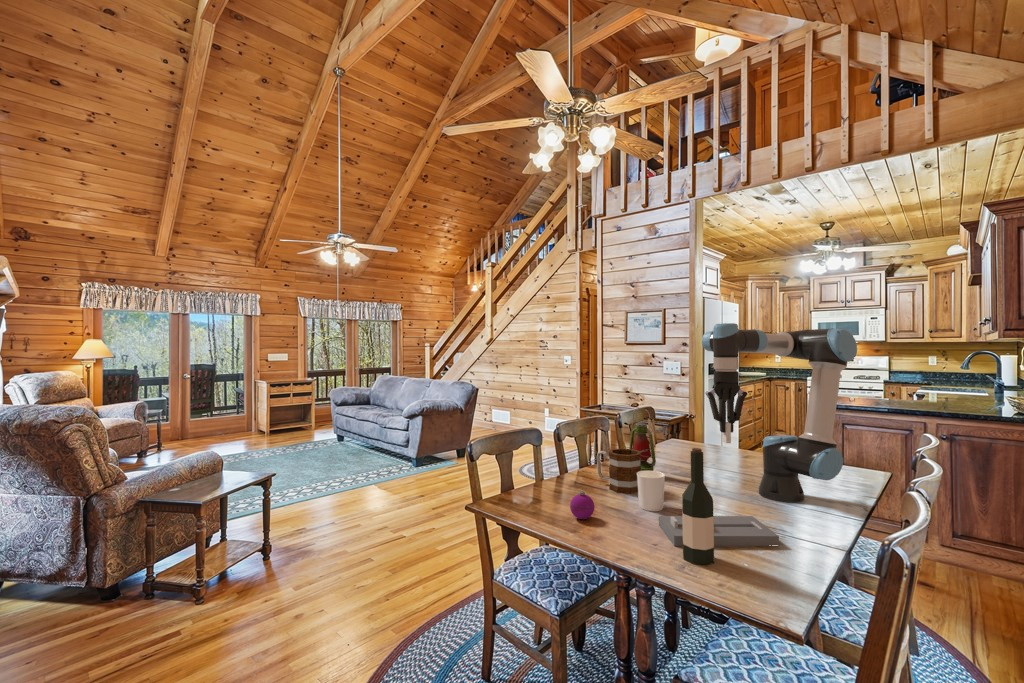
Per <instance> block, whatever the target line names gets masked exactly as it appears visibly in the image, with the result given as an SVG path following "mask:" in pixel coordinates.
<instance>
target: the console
mask: <svg viewBox="0 0 1024 683" xmlns="http://www.w3.org/2000/svg"><path fill="white" fill-rule="evenodd" d="M713 519H714V547H756V546H769V545H771V546H772V545H779V546H780V535H778V534H776V533H775V532H774V531H773V530H772V529H770V528H769V527H768V526H766V525H765V524H764V523H762V522H761V521H760V520H758V519H757V518H755V517H754V516H752V515H744V516H743V515H737V516H736V515H713ZM658 527H659V528H660V529H661V530H662V532H663V533H664V535H666V537H667V538H668V540H669V541H670V543H671V544H672V546H674V547H683V515H659V516H658Z"/></svg>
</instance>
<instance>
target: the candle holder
mask: <svg viewBox="0 0 1024 683" xmlns="http://www.w3.org/2000/svg"><path fill="white" fill-rule="evenodd" d="M665 478H666V475H665V473H663V472H660V471H655V470H653V471H639V472H637V483H638V493H637V495H638V497H637V498H638V505H639V509H642V510H643V511H646V512H647V511H648V512H659V511H662V510H663V509H664V502H665V501H664V500H665V499H664V498H665V483H666V482H665V481H666V480H665Z"/></svg>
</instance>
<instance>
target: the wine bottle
mask: <svg viewBox="0 0 1024 683" xmlns="http://www.w3.org/2000/svg"><path fill="white" fill-rule="evenodd" d="M704 474H705V473H704V452H703V451H702V448H699V447H693V448H692V449H691V451H690V482H689V484H688V485H687V487H686V488H685V490H683V493H682V496H681V497H682V498H681V499H682V500H681V501H682V516H683V546H682V556H683V557H682V558H683V560H684V561H686V562H688V563H689V564H692V565H696V566H703V567H706V566H709V565H713V564H715V546H714V519H713V516H714V500H713V499H714V498H713V496H712V494H711V493H710V492H709V490H708V487H707V486H706V485H705V482H704V481H705V480H704Z"/></svg>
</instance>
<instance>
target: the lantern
mask: <svg viewBox="0 0 1024 683" xmlns="http://www.w3.org/2000/svg"><path fill="white" fill-rule="evenodd" d="M636 411H646V412H647V413H648V417H649V418H648V420H649V422H651V415H650V411H649V410H647V409H646V408H641V407H640V408H639V407H638V408H636V409H634V410H633V412H632V424H631V425H630V429H631V431H630V440H629V447H628V449H634V450H637V451H641V456H640V464H641V471H654V467H655V466H656V463H657V460H656V452H655V446H654V438H653V434H652V433H653V432H654V430H653V428H652V425H651V423H649V427H650V429H651V431H650V430H649V429H648V423H646V422H644V421H643V420H640V419H644V417H641V416H640V417H639V418H638V420H639V421H638V422H636V423H635V428H632V427H633V426H634V422H635V420H634V416H635V415H634V414H635V412H636ZM635 433H636V437H635ZM647 434H648V436H647ZM634 437H635V439H634ZM648 438H649V439H648ZM649 459H651V460H652V462H651V463H649V462H648V460H649Z"/></svg>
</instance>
